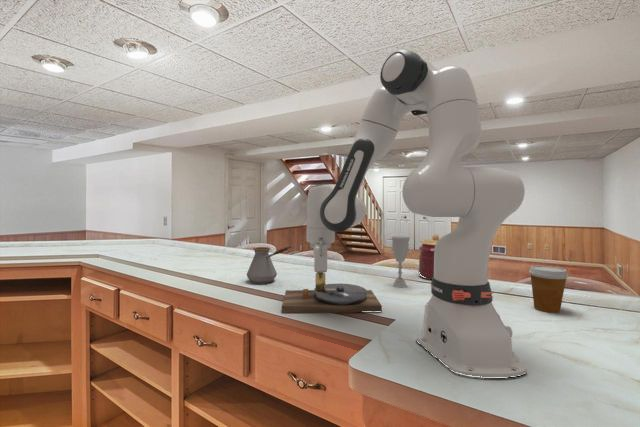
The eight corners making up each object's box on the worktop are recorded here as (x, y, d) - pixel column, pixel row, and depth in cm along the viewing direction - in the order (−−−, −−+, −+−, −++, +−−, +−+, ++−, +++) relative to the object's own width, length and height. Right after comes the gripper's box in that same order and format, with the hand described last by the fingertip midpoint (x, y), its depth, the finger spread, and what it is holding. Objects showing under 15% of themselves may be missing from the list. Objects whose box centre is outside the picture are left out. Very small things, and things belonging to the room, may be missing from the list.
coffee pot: (240, 281, 129) (240, 242, 128) (263, 276, 138) (262, 240, 137) (279, 291, 115) (279, 248, 115) (301, 285, 124) (302, 244, 124)
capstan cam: (362, 289, 110) (362, 268, 110) (370, 304, 94) (370, 280, 94) (313, 289, 110) (314, 268, 110) (313, 305, 94) (313, 280, 94)
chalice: (409, 288, 120) (410, 238, 119) (390, 287, 121) (391, 238, 120) (408, 283, 127) (409, 236, 126) (390, 282, 128) (391, 235, 127)
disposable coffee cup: (520, 306, 101) (521, 266, 100) (542, 302, 104) (543, 264, 103) (551, 316, 92) (553, 273, 91) (575, 312, 95) (576, 270, 95)
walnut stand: (381, 312, 94) (381, 297, 94) (281, 313, 94) (281, 297, 93) (371, 295, 110) (371, 282, 110) (286, 296, 110) (286, 283, 109)
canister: (412, 277, 137) (413, 234, 136) (427, 272, 146) (428, 232, 146) (443, 282, 128) (444, 236, 127) (457, 277, 137) (458, 234, 137)
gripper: (332, 241, 94) (331, 289, 95) (329, 232, 114) (328, 272, 115) (310, 240, 94) (309, 289, 94) (310, 232, 114) (310, 272, 115)
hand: (319, 280), depth 105 cm, fingers closed
